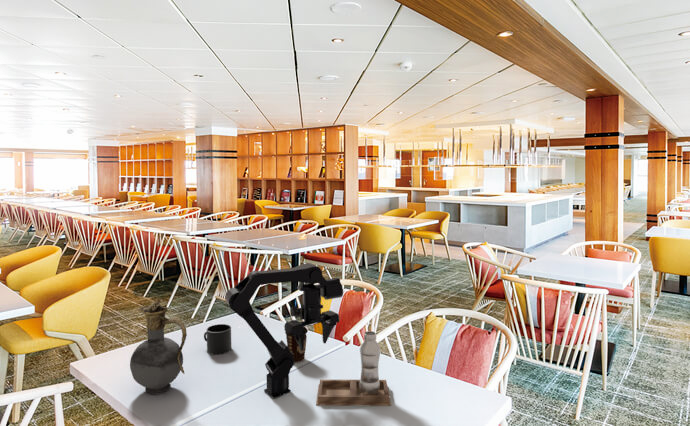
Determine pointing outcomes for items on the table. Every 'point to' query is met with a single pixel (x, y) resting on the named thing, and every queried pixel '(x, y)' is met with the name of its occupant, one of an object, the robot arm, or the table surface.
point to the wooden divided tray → (350, 394)
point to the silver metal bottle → (369, 364)
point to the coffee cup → (296, 346)
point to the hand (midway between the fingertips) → (313, 346)
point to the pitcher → (157, 352)
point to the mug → (218, 339)
